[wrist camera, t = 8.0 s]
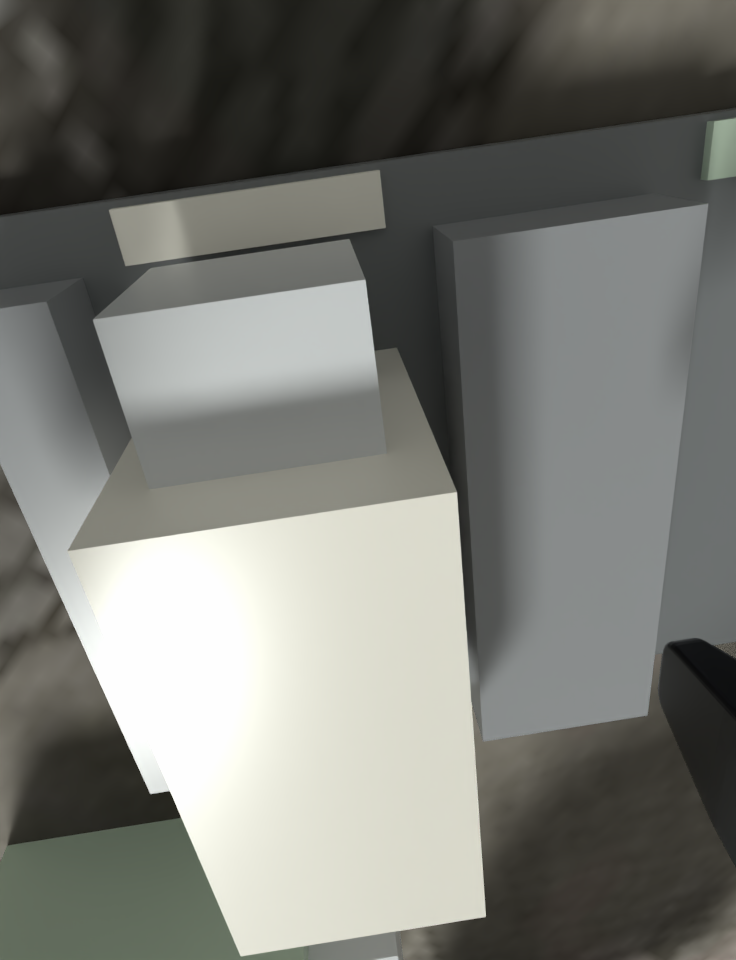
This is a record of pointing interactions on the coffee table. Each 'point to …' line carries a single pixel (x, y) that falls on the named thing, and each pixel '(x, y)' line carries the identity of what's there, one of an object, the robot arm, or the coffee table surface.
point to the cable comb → (459, 384)
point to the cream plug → (289, 598)
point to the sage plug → (131, 903)
